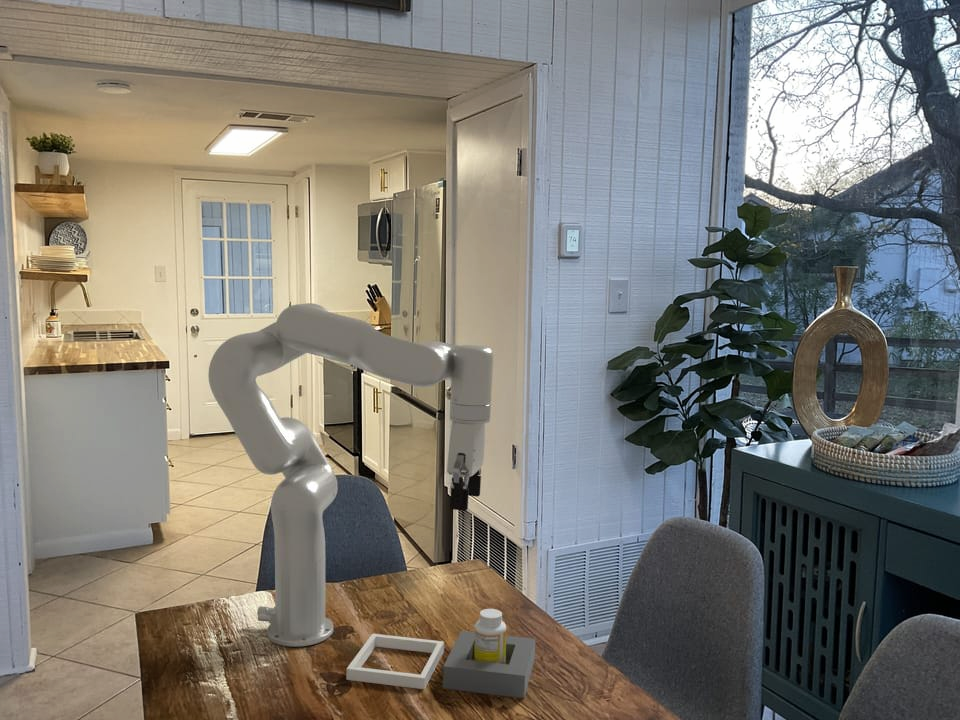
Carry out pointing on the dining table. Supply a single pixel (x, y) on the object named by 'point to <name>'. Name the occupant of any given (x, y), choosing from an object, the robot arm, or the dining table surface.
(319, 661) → the dining table surface
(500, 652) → the supplement bottle
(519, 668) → the gray square socket block
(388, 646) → the tray rim
